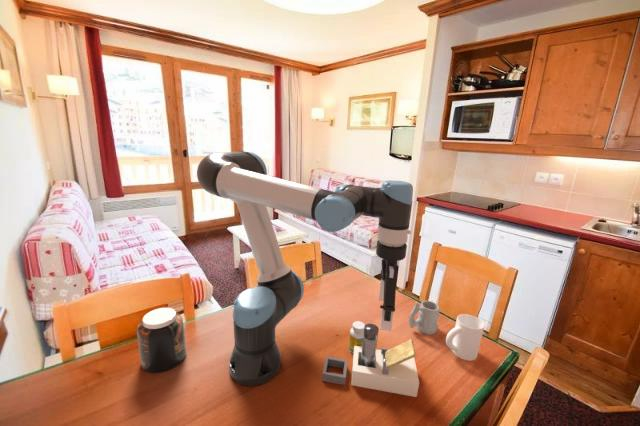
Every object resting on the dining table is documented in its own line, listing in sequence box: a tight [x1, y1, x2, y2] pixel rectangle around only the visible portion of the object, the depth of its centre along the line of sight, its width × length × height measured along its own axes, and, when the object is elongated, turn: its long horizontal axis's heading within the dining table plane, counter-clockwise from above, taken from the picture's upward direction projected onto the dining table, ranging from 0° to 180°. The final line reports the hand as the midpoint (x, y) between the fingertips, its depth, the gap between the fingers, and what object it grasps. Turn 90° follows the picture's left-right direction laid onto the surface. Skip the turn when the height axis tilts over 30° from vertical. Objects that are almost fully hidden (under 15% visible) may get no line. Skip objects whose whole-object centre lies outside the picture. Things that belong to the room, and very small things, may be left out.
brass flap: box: [383, 339, 417, 368], centre depth 81 cm, size 10×6×1 cm
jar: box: [136, 307, 187, 374], centre depth 84 cm, size 12×12×15 cm
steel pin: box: [360, 323, 380, 368], centre depth 82 cm, size 4×4×16 cm
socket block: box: [350, 346, 420, 398], centre depth 83 cm, size 18×10×7 cm, turn 80°
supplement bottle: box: [348, 320, 366, 355], centre depth 93 cm, size 5×5×10 cm
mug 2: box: [445, 313, 485, 362], centre depth 93 cm, size 8×12×12 cm
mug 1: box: [408, 300, 440, 336], centre depth 104 cm, size 8×12×12 cm, turn 105°
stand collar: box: [321, 356, 348, 386], centre depth 84 cm, size 7×7×2 cm
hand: (384, 313), depth 78 cm, fingers open, 13 cm apart
